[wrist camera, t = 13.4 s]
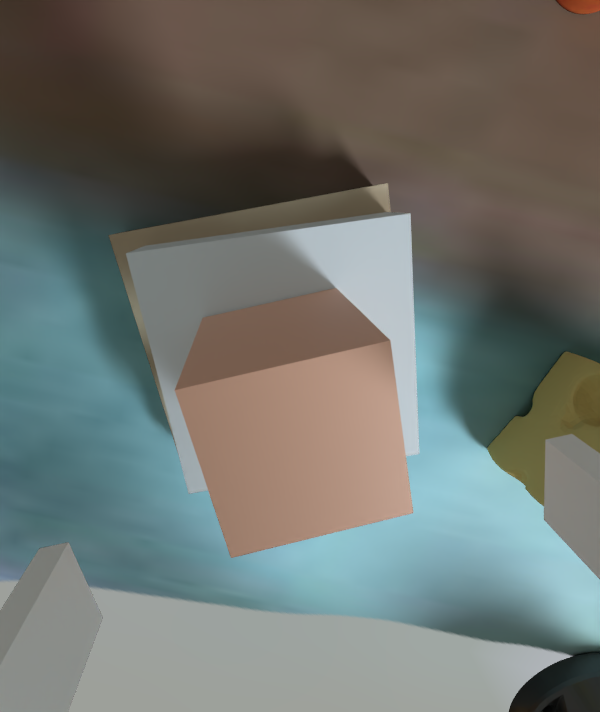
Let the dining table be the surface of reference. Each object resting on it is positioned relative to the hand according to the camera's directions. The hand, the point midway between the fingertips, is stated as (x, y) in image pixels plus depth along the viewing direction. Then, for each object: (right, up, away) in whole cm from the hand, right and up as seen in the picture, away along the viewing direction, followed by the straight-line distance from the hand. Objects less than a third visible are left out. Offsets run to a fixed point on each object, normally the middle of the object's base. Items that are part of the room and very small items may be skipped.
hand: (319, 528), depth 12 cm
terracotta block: (-1, +4, +11) cm, 12 cm away
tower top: (-1, +6, +15) cm, 16 cm away
